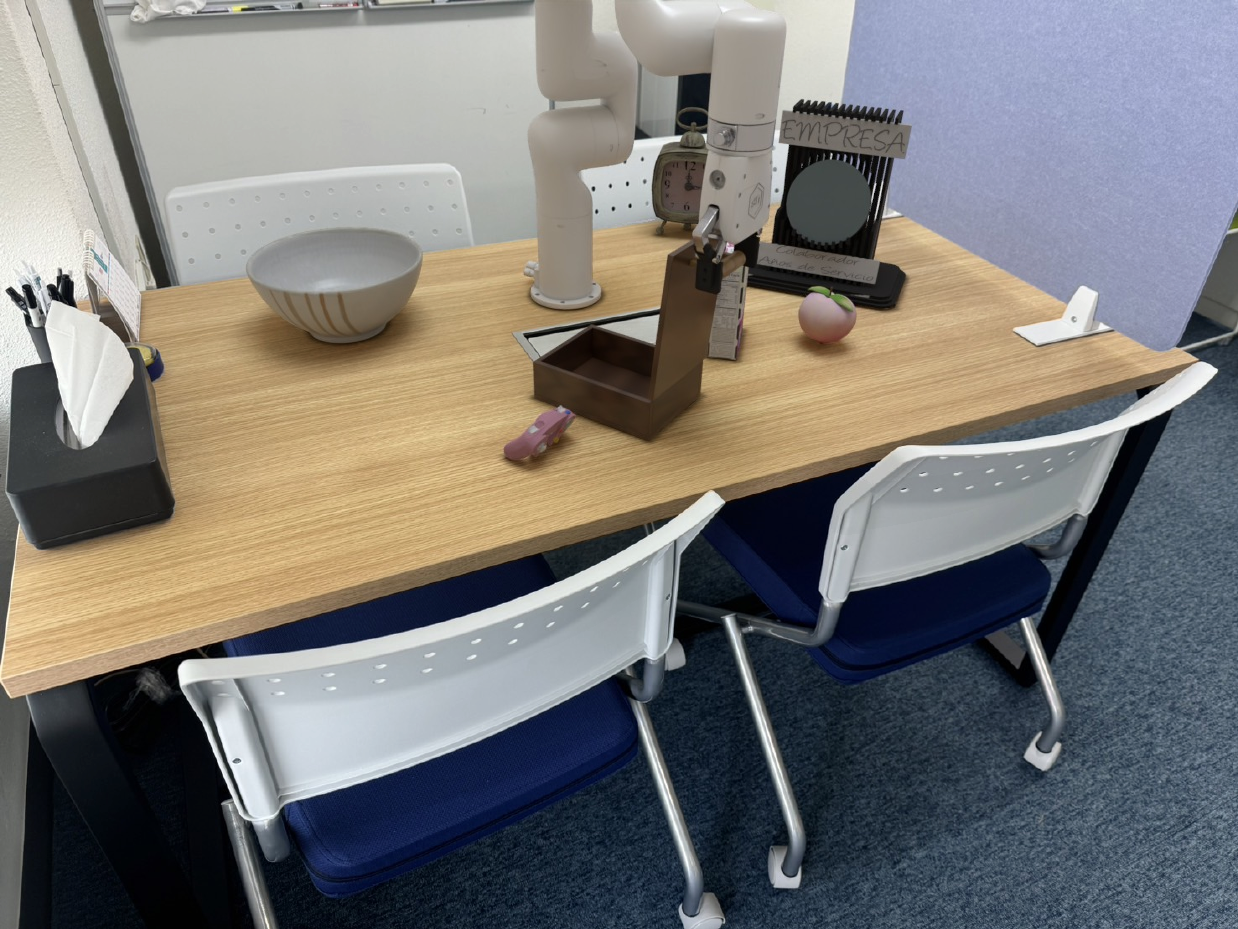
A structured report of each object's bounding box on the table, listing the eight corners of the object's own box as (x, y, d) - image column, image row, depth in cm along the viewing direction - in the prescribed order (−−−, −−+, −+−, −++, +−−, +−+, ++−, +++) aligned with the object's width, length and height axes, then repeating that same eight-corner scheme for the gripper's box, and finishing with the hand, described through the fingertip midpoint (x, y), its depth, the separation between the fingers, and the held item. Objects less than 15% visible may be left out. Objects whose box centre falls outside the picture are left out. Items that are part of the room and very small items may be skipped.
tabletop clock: (649, 237, 179) (654, 110, 164) (655, 222, 186) (660, 99, 171) (719, 243, 177) (731, 115, 162) (722, 227, 184) (733, 103, 170)
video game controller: (523, 477, 112) (541, 445, 107) (498, 454, 113) (514, 421, 108) (568, 442, 119) (586, 411, 114) (543, 420, 120) (561, 388, 115)
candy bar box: (713, 327, 146) (721, 232, 136) (742, 330, 145) (753, 235, 135) (705, 358, 137) (713, 259, 127) (736, 361, 136) (747, 262, 126)
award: (726, 282, 161) (742, 113, 143) (752, 248, 175) (770, 90, 157) (892, 312, 151) (932, 136, 134) (907, 273, 166) (944, 109, 148)
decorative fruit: (782, 343, 141) (790, 286, 136) (810, 327, 146) (819, 271, 140) (832, 362, 136) (843, 304, 130) (858, 345, 141) (870, 288, 135)
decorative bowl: (303, 383, 128) (286, 308, 121) (238, 319, 144) (220, 250, 137) (460, 333, 142) (453, 263, 135) (384, 280, 159) (375, 215, 152)
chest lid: (667, 254, 101) (709, 269, 99) (725, 219, 111) (764, 232, 109) (647, 399, 114) (684, 415, 111) (701, 356, 124) (736, 370, 121)
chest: (534, 398, 126) (532, 361, 122) (591, 358, 136) (591, 324, 132) (648, 441, 117) (650, 403, 114) (700, 395, 127) (703, 359, 124)
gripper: (734, 158, 89) (720, 310, 99) (802, 123, 101) (783, 262, 111) (672, 145, 92) (664, 294, 102) (745, 113, 104) (731, 249, 114)
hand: (726, 277), depth 107 cm, fingers open, 9 cm apart
